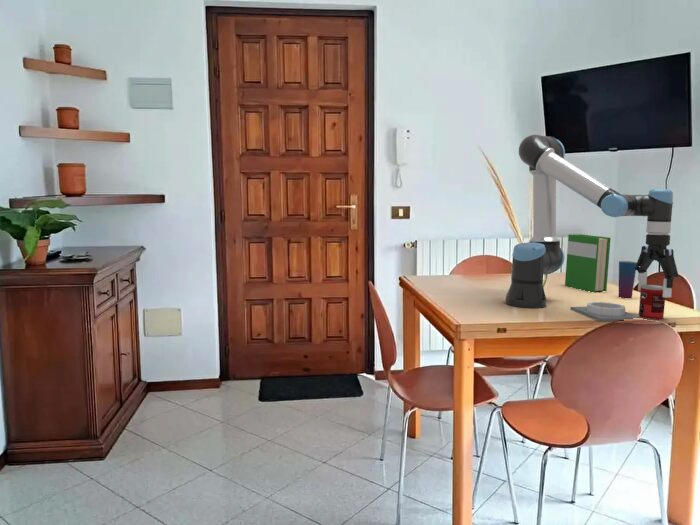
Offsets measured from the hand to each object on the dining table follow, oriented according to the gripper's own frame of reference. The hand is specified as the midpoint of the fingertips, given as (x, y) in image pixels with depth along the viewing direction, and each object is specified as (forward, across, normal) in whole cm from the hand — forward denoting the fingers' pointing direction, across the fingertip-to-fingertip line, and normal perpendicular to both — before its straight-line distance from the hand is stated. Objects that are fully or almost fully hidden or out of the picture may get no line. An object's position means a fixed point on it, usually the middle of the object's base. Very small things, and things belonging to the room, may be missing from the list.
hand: (654, 294), depth 212 cm
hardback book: (+8, +58, -8) cm, 59 cm away
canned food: (+8, 0, 0) cm, 9 cm away
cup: (+8, +37, -14) cm, 41 cm away
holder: (+8, +4, +15) cm, 18 cm away
